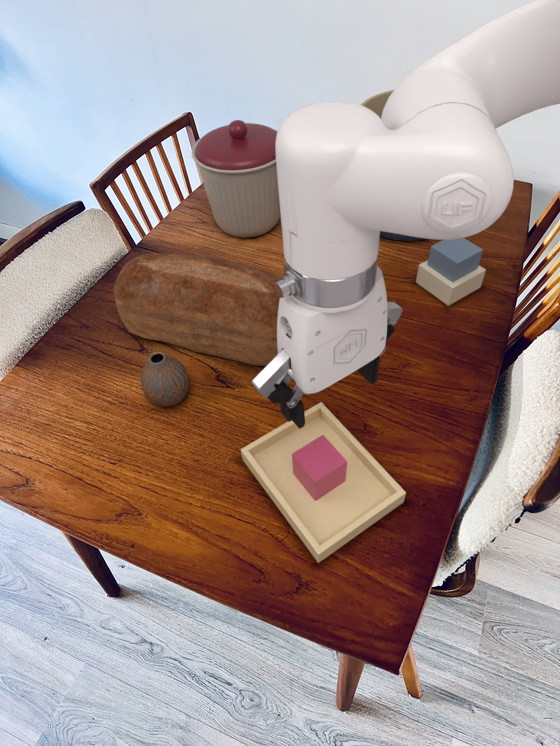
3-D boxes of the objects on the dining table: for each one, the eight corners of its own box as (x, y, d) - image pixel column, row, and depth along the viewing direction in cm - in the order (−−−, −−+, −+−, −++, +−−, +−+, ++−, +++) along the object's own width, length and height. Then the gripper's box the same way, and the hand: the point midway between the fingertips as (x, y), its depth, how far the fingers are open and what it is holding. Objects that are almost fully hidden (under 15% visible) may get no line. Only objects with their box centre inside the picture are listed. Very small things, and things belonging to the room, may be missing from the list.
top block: (345, 481, 68) (347, 461, 64) (315, 501, 67) (315, 482, 63) (322, 454, 71) (323, 434, 67) (292, 473, 69) (291, 453, 66)
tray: (403, 502, 66) (406, 492, 64) (318, 563, 62) (318, 554, 60) (321, 412, 76) (321, 401, 74) (242, 459, 72) (240, 449, 70)
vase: (201, 393, 80) (191, 355, 73) (167, 421, 77) (152, 384, 70) (173, 371, 83) (160, 333, 76) (138, 397, 80) (122, 359, 73)
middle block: (477, 268, 89) (483, 249, 86) (452, 282, 87) (457, 263, 84) (451, 252, 93) (456, 233, 90) (427, 265, 91) (430, 246, 88)
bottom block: (480, 287, 92) (486, 269, 89) (448, 306, 89) (452, 288, 86) (447, 265, 97) (451, 247, 94) (415, 282, 94) (418, 264, 91)
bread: (285, 380, 81) (281, 317, 70) (116, 337, 89) (90, 275, 79) (310, 327, 88) (309, 263, 78) (152, 293, 96) (132, 230, 86)
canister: (188, 229, 109) (165, 127, 93) (246, 191, 117) (235, 92, 101) (251, 260, 101) (238, 155, 85) (309, 217, 109) (307, 114, 93)
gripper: (268, 341, 38) (284, 462, 51) (440, 249, 43) (415, 379, 56) (218, 289, 42) (244, 413, 55) (380, 211, 48) (369, 340, 61)
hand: (330, 396), depth 56 cm, fingers open, 9 cm apart
